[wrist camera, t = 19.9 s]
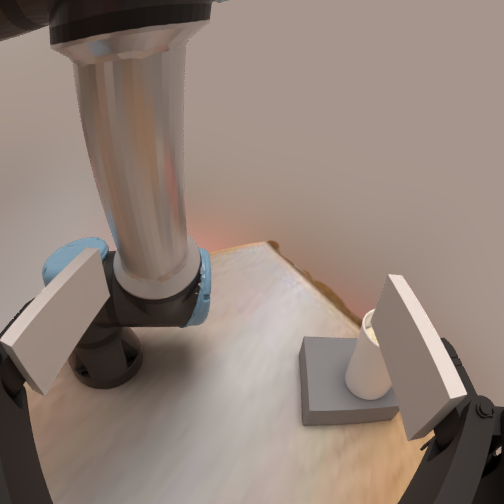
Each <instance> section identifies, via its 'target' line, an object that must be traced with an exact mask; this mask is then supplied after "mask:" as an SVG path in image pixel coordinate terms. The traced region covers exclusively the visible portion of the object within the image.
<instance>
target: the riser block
mask: <svg viewBox="0 0 504 504" xmlns="http://www.w3.org/2000/svg"><path fill="white" fill-rule="evenodd" d="M356 341H357V338H325V337H304V338H303V342H302V346H301V349H300V353H299V360H300V376H301V396H302V419H303V425H338V424H354V423H366V422H376V421H385V420H392V419H393V417H394V416H395V415H396V414H397V413H398V412H399V406H398V403H397V400H396V396H395V393H394V390H393V386H392V387H391V389H390V390H389V391H388V392H387V393H386V394H385V395H384V396H383V397H381V398H379V399H375V400H365V399H361V398H359V397H357V396H355V395H354V394H353V393H351V392H350V390H349V389H348V388H347V386H346V383H345V372H346V369H347V366H348V364H349V361H350V358H351V355H352V353H353V350H354V347H355V344H356Z"/></svg>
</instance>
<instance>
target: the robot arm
mask: <svg viewBox="0 0 504 504" xmlns="http://www.w3.org/2000/svg"><path fill="white" fill-rule="evenodd" d="M213 1H216V2H219V3H221V2H223V1H227V0H0V41H3V40H6V39H10V38H13V37H17V36H20V35H23V34H25V33H28V32H31V31H34V30H37V29H40V28H42V27H45V26H48V25H49V29H50V45H51V49H53V50H55V51H57V52H59V53H61V54H63V55H64V56H66V57H68V58H69V59H70V60H71V62H72V63H73V69H74V77H75V86H76V93H77V100H78V105H79V112H80V117H81V122H82V127H83V132H84V137H85V141H86V146H87V151H88V155H89V159H90V163H91V167H92V171H93V175H94V178H95V182H96V185H97V189H98V192H99V196H100V199H101V203H102V205H103V209H104V212H105V215H106V218H107V221H108V224H109V227H110V230H111V233H112V236H113V239H114V242H115V244H116V247H117V251H109V247H108V245H107V244H106V242H105V241H104V240H103V239H100V238H98V237H89V238H84V239H80V240H76V241H73V242H71V243H69V244H67V245H65V246H63V247H61V248H60V249H58V250H57V251H56V252H54V253H53V254H52V255H51V256H50V257H49V258H48V259H47V261H46V262H45V264H44V266H43V270H42V276H43V280H44V284H45V288H44V289H43V290H42V291H41V292H40V293H39V295H38V296H37V297H35V298H34V299H32V300H31V301H29V302H28V303H26V304H25V305H24V307H23V308H22V309H21V310H20V312H19V313H17V314H16V316H15V317H14V319H12V320H11V321H10V323H9V324H8V325H7V326H6V327H5V329H4V330H3V331H2V332H1V333H0V504H53V502H52V499H51V497H50V494H49V491H48V488H47V485H46V482H45V479H44V476H43V473H42V470H41V466H40V462H39V459H38V455H37V451H36V447H35V442H34V438H33V433H32V428H31V422H30V416H29V410H28V403H27V394H26V390H25V387H24V386H23V384H24V383H25V381H26V382H27V383H28V384H29V386H30V387H31V388H32V390H34V391H36V392H38V393H40V394H42V395H44V396H46V395H47V393H48V391H49V389H50V387H51V386H52V384H53V382H54V381H55V379H56V377H57V375H58V374H59V372H60V370H61V369H62V367H63V365H64V364H65V362H66V361H67V359H68V357H69V363H70V365H71V368H72V369H73V371H74V373H75V375H76V376H77V377H78V379H79V380H80V381H82V382H83V383H84V384H86V385H88V386H91V387H95V388H112V387H116V386H119V385H121V384H123V383H125V382H127V381H128V380H129V379H131V378H132V377H133V376H134V375H135V374H136V373H137V371H138V370H139V368H140V366H141V363H142V358H143V353H142V349H141V345H140V342H139V340H138V338H137V336H136V335H135V333H134V332H133V331H132V330H131V328H130V327H180V328H184V327H187V326H195V325H200V324H202V323H203V322H204V321H205V320H206V318H207V316H208V312H209V307H210V293H211V263H210V256H209V253H208V252H207V251H206V250H205V249H201V248H199V247H198V246H197V244H196V242H195V241H194V239H193V238H192V237H191V236H190V235H189V234H188V233H187V229H186V212H185V189H184V152H183V150H184V149H183V111H184V74H185V73H184V72H185V54H186V44H187V42H188V41H189V39H190V38H191V37H192V36H194V35H195V34H196V33H197V32H198V31H199V30H201V29H202V28H203V27H204V26H206V25H207V24H208V23H209V21H210V12H211V4H212V2H213ZM370 322H371V325H372V328H373V330H374V333H375V336H376V339H377V341H378V344H379V347H380V350H381V353H382V356H383V359H384V362H385V365H386V368H387V371H388V374H389V377H390V380H391V383H392V386H393V390H394V393H395V396H396V400H397V403H398V406H399V410H400V413H401V417H402V421H403V424H404V428H405V432H406V436H407V440H408V441H410V440H415V439H419V438H423V437H425V436H426V435H427V434H429V433H430V432H431V431H432V430H434V433H435V436H434V437H433V438H431V439H430V440H429V441H428V442H427V443H425V444H424V445H423V446H422V448H421V449H420V450H424V449H425V448H426V447H427V446H428V448H427V450H426V452H425V454H424V457H423V459H422V461H421V463H420V465H419V467H418V469H417V471H416V473H415V475H414V476H413V478H412V480H411V482H410V484H409V486H408V487H407V489H406V491H405V493H404V494H403V496H402V498H401V499H400V501H399V502H398V504H504V407H496V406H494V404H493V403H492V402H491V400H490V399H488V398H487V397H484V396H478V395H477V394H476V392H475V389H474V387H473V385H472V383H471V381H470V379H469V377H468V375H467V373H466V371H465V369H464V367H463V366H462V363H461V361H460V359H459V358H458V355H457V353H456V351H455V349H454V348H453V346H452V345H451V344H450V343H449V342H448V341H447V340H446V339H445V338H439V336H438V334H437V332H436V330H435V329H434V327H433V325H432V323H431V322H430V320H429V318H428V316H427V315H426V313H425V311H424V310H423V308H422V306H421V305H420V303H419V301H418V300H417V298H416V297H415V295H414V293H413V292H412V290H411V289H410V287H409V286H408V284H407V282H406V281H405V279H404V278H403V276H402V275H390V274H388V275H387V278H386V281H385V284H384V287H383V290H382V292H381V295H380V298H379V301H378V303H377V306H376V308H375V311H374V313H373V316H372V318H371V321H370ZM501 446H502V448H501V453H500V454H499V455H498V456H497V455H496V450H497V449H498V448H499V447H501Z"/></svg>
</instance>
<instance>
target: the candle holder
mask: <svg viewBox="0 0 504 504" xmlns="http://www.w3.org/2000/svg"><path fill="white" fill-rule="evenodd" d="M374 311H375V309H373V310H371V311H369V312H368V313H367V314H366V315H365V317H364V318H363V321H362V326H361V329H360V332H359V335H358V338H357V341H356V344H355V347H354V350H353V353H352V355H351V358H350V361H349V364H348V366H347V369H346V372H345V383H346V386H347V388H348V389H349V390H350V392H351V393H353V394H354V395H355V396H357V397H359V398H361V399H365V400H375V399H379V398H381V397H383V396H384V395H385V394H386V393H387V392H388V391H389V390H390V389H391V387H392V383H391V380H390V377H389V374H388V371H387V368H386V365H385V362H384V359H383V356H382V353H381V350H380V347H379V344H378V341H377V339H376V336H375V333H374V330H373V328H372V325H371V322H370V321H371V318H372V316H373V313H374Z"/></svg>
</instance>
